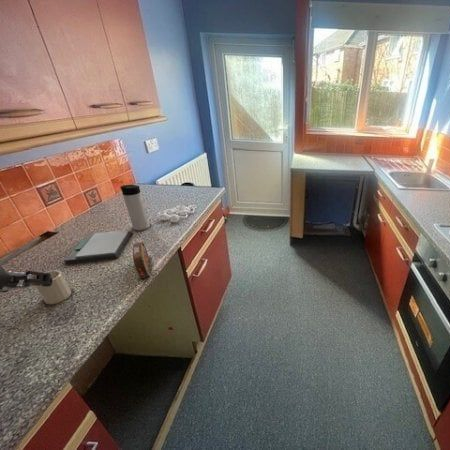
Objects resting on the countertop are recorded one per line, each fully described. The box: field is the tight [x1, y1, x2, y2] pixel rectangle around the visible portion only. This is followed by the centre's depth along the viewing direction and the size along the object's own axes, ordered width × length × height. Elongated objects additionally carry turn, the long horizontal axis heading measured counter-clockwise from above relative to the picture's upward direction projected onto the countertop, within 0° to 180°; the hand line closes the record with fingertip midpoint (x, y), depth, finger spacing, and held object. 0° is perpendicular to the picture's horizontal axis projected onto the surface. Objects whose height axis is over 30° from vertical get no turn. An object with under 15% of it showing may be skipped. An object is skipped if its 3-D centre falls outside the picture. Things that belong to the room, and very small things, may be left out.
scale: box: [63, 229, 133, 265], centre depth 93 cm, size 15×18×3 cm
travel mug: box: [120, 184, 151, 232], centre depth 104 cm, size 6×7×20 cm
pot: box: [34, 269, 72, 305], centre depth 70 cm, size 6×6×8 cm
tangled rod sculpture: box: [156, 204, 198, 223], centre depth 121 cm, size 19×14×4 cm
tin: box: [132, 241, 151, 279], centre depth 83 cm, size 15×3×8 cm, turn 30°
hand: (28, 284), depth 62 cm, fingers open, 8 cm apart
